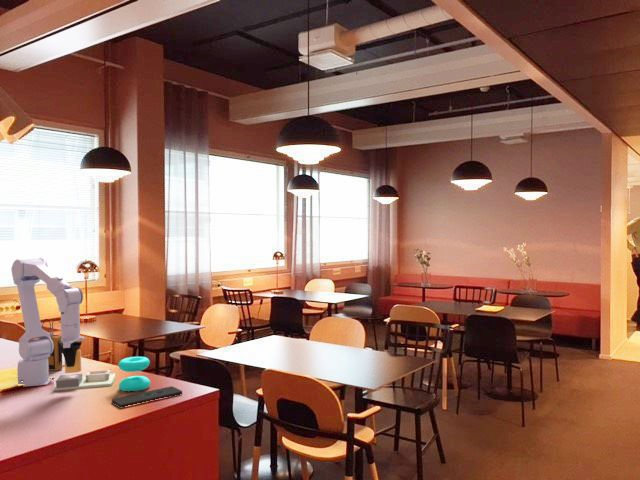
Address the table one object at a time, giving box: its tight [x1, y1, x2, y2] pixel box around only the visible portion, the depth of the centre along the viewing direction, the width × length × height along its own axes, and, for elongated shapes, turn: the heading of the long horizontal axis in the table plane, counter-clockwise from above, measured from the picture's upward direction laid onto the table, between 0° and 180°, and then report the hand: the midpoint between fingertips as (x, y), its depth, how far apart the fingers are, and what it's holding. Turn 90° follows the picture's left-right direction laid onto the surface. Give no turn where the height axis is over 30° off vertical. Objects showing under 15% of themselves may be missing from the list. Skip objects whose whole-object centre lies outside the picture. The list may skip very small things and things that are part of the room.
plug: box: [64, 348, 82, 374], centre depth 181 cm, size 5×3×7 cm, turn 104°
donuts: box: [118, 356, 151, 393], centre depth 183 cm, size 10×10×10 cm
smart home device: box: [111, 386, 183, 408], centre depth 172 cm, size 8×2×20 cm
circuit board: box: [54, 372, 117, 392], centre depth 191 cm, size 18×14×1 cm
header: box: [85, 369, 112, 382], centre depth 194 cm, size 8×6×2 cm
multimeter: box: [41, 318, 65, 372], centre depth 214 cm, size 15×10×20 cm
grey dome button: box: [55, 373, 83, 388], centre depth 187 cm, size 7×7×3 cm
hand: (71, 365), depth 181 cm, fingers closed on plug, 3 cm apart
